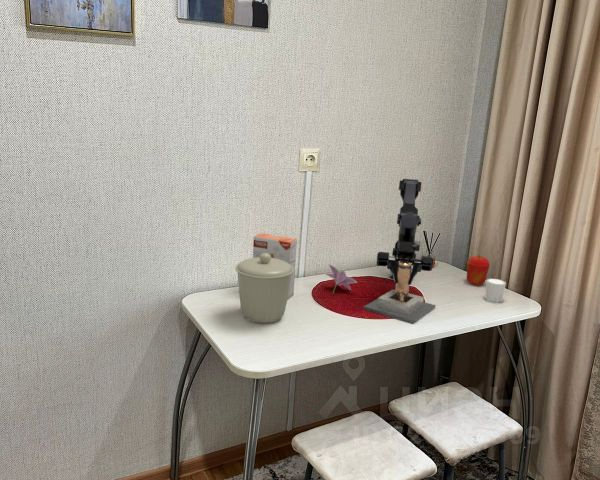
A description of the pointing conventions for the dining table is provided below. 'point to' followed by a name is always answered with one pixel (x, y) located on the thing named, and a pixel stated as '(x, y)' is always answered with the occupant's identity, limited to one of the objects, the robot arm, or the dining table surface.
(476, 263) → the apple
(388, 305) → the frame
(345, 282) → the lily
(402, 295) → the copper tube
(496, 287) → the shot glass
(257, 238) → the cracker box
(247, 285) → the canister
